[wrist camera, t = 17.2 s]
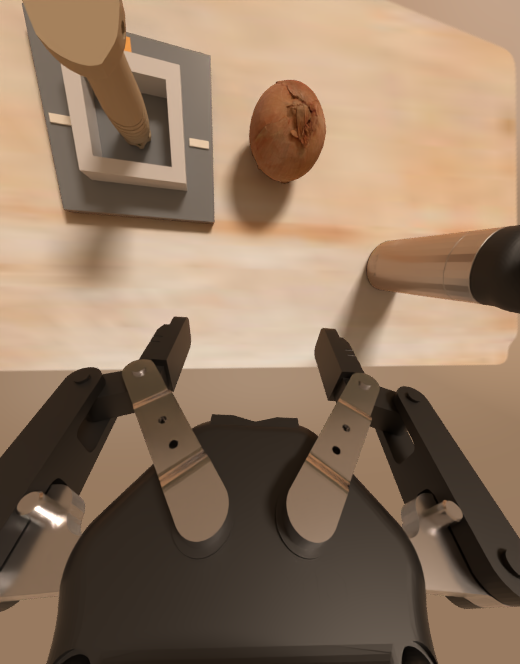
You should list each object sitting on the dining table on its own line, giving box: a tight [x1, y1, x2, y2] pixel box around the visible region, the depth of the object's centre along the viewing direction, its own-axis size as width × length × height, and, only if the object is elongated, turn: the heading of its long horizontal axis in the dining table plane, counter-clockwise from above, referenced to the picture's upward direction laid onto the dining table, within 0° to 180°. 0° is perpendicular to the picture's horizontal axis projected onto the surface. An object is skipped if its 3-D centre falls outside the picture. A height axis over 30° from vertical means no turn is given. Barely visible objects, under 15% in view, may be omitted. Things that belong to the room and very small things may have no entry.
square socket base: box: [22, 3, 214, 224], centre depth 26 cm, size 18×18×4 cm
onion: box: [249, 80, 326, 184], centre depth 27 cm, size 10×9×10 cm
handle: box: [22, 0, 151, 149], centre depth 19 cm, size 5×6×15 cm
